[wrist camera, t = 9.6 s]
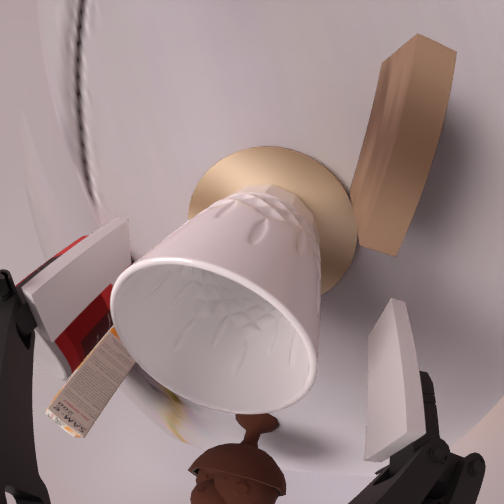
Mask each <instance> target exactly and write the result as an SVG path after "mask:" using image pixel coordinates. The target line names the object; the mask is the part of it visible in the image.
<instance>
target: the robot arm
mask: <svg viewBox="0 0 504 504" xmlns="http://www.w3.org/2000/svg"><path fill="white" fill-rule="evenodd" d="M130 265H131V254H130V240H129V220H128V219H125V218H122V217H118V216H117V217H115V218H114V219H112V220H111V221H109V222H108V223H106V224H105V225H103V226H102V227H100V228H99V229H97V230H96V231H95V232H93V233H92V234H90V235H89V236H87V237H86V238H84V239H83V240H82V241H80V242H79V243H77V244H76V245H75V246H73V247H72V248H71V249H69V250H68V251H67V252H65V253H64V254H63V255H62V254H61V255H58V256H56V257H54V258H52V259H50V260H49V261H48V262H46V263H45V264H44V266H43V265H42V266H41V267H40V268H39V269H38V270H36V271H35V272H34V273H32V274H31V275H30V276H29V277H27V278H26V279H25V280H24V281H23V282H21V283H20V284H19V285H18V286H16V287H15V285H14V282H13V279H12V276H11V274H10V272H9V271H8V270H3V269H2V270H0V504H7V501H6V497H5V491H6V492H8V493H10V494H12V495H13V497H14V498H15V500H16V503H17V504H51V502H50V498H49V494H48V491H47V488H46V486H45V484H44V483H43V481H42V480H41V478H40V476H39V473H38V467H37V461H36V452H35V443H34V432H33V416H32V415H33V414H32V376H33V358H34V346H35V331H34V329H35V328H36V327H37V326H38V328H39V330H40V333H41V335H42V336H43V337H45V338H46V339H47V340H49V341H50V342H52V343H53V342H54V341H55V339H56V338H57V337H58V336H59V335H60V334H61V333H62V332H63V331H64V330H65V329H66V328H67V327H68V326H69V324H70V323H71V322H72V321H73V320H74V319H75V318H76V317H77V316H78V315H79V314H80V313H81V312H82V311H83V310H84V309H85V308H86V307H87V306H88V305H89V304H90V303H91V302H92V301H93V300H94V299H95V298H96V297H97V296H98V295H99V294H100V293H101V292H102V291H103V290H104V289H105V288H106V287H107V286H108V285H109V284H110V283H111V282H113V281H114V280H115V279H116V278H117V277H118V276H119V275H120V274H121V273H122V272H123V271H124V270H125V269H126V268H127V267H128V266H130ZM367 363H368V397H367V425H366V442H365V454H364V461H372V462H382V461H384V460H386V459H387V458H389V457H390V464H389V465H388V466H386V467H384V468H382V469H380V470H378V471H377V472H376V473H375V474H376V475H377V474H379V473H380V474H379V475H378V476H377V477H376V478H375V479H374V480H373V481H372V482H371V483H370V484H369V485H368V486H367V487H366V488H365V489H364V490H363V491H362V492H360V493H359V495H357V496H356V497H355V498H354V499H353V500H352V501H351V502H350V503H348V504H475V503H476V500H477V497H478V494H479V491H480V488H481V485H482V481H483V477H484V474H485V461H484V459H483V457H482V456H481V455H480V454H478V453H471V454H469V455H468V456H466V457H461V456H458V455H456V454H453V453H451V452H450V449H449V446H448V445H447V443H446V442H445V441H444V440H442V439H440V436H439V426H438V416H437V408H436V405H435V403H436V401H435V396H434V387H433V382H432V380H431V378H430V376H429V375H428V373H427V372H423V371H419V367H418V361H417V355H416V350H415V345H414V340H413V335H412V330H411V325H410V321H409V316H408V312H407V308H406V304H405V301H401V300H398V299H394V298H391V299H390V300H389V302H388V304H387V306H386V307H385V309H384V311H383V312H382V314H381V316H380V318H379V319H378V321H377V323H376V324H375V326H374V327H373V329H372V331H371V332H370V334H369V335H368V337H367Z"/></svg>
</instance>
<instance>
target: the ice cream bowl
mask: <svg viewBox="0 0 504 504" xmlns="http://www.w3.org/2000/svg"><path fill="white" fill-rule="evenodd" d="M236 420H237V421H238V423H239V424H240V425H241V426H242V427H243V428H244V429H246V433H245V437H244V440H243V441H242V442H241V443H240V444H235V443H229V444H223V445H218V446H216V447H213V448H210V449H208V450H207V451H205V452H204V453H203V454H202V455H201V456H200V457H198V458H197V459H196V460H195V461H194V463H193V464H192V465H191V467H190V468H189V469H188V471H190V472H191V473H192V474H194V475H195V476H196V477H197V478H196V483H197V485H196V486H195V488H194V489H193V491H192V493H191V498H190V500H191V504H275V502H276V499H277V498H278V496H283V495H286V482H285V478H284V474H283V473H282V471H281V470H280V468H279V467H278V465H277V464H276V462H275V461H274V460H273V458H272V457H271V456H270V455H268V454H267V453H266V452H265V451H263V450H261V449H259V448H258V444H257V443H258V440H259V437H260V434H263V433H268V432H272V431H274V430H275V429H276V428H277V427H278V426H279V423H278V421H277V419H276V418H275V417H273V416H271V415H269V414H268V413H264V414H236Z"/></svg>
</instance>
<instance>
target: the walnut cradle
mask: <svg viewBox="0 0 504 504" xmlns="http://www.w3.org/2000/svg"><path fill="white" fill-rule="evenodd" d="M456 54H457V52H455V51H454V50H452V49H450V48H448V47H446V46H444V45H442V44H440V43H438V42H436V41H433V40H431V39H429V38H427V37H425V36H422V35H420V34H416V35H415V36H414V37H413V38H411V39H410V40H409V41H408V42H407V43H405V44H404V45H403V46H402V47H401V48H399V49H398V50H397V51H396V52H395V53H394V54H392V55H391V56H390V57H389V58H388V59H387V60H385V61H384V62H383V63H382V65H381V70H380V75H379V80H378V85H377V89H376V94H375V98H374V102H373V107H372V111H371V115H370V119H369V123H368V127H367V131H366V135H365V138H364V142H363V146H362V150H361V153H360V157H359V160H358V164H357V167H356V171H355V174H354V178H353V181H352V184H351V187H350V191H349V193H350V198H351V202H352V207H353V212H354V217H355V222H356V227H357V233H358V238H359V244H360V246H363V247H366V248H369V249H372V250H375V251H379V252H382V253H385V254H388V255H391V256H394V257H396V255H397V253H398V251H399V249H400V246H401V244H402V242H403V239H404V237H405V235H406V232H407V230H408V228H409V225H410V223H411V220H412V218H413V215H414V213H415V210H416V208H417V205H418V202H419V200H420V197H421V194H422V191H423V189H424V186H425V183H426V180H427V177H428V174H429V171H430V168H431V165H432V162H433V158H434V155H435V152H436V148H437V145H438V141H439V138H440V134H441V130H442V126H443V122H444V118H445V114H446V110H447V105H448V101H449V96H450V91H451V86H452V80H453V74H454V68H455V62H456Z"/></svg>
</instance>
